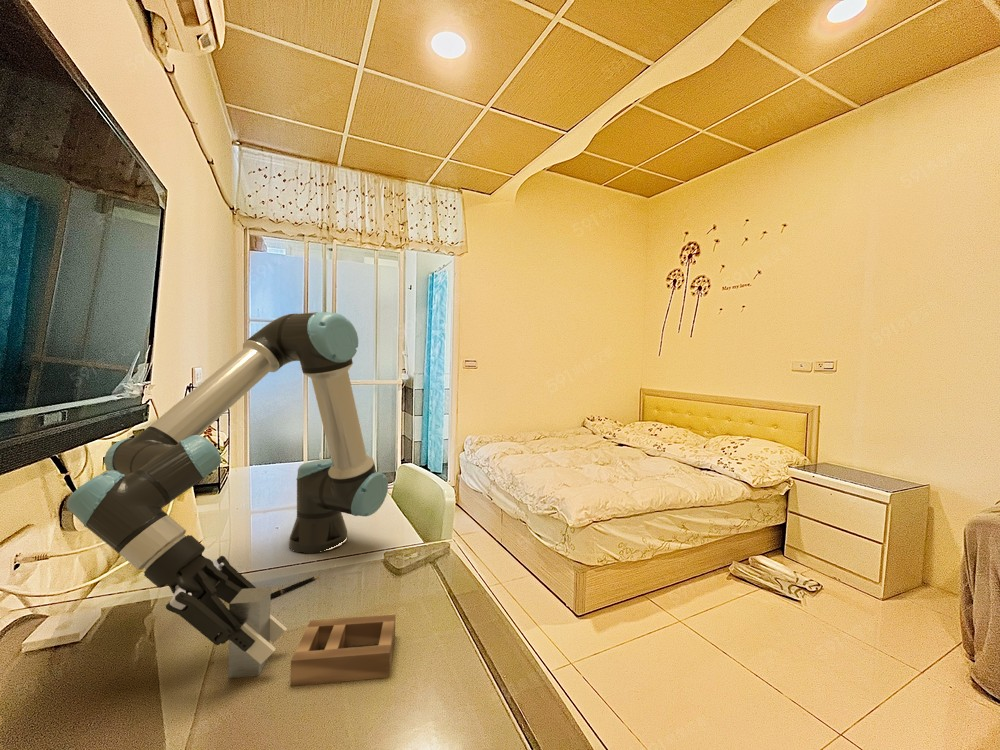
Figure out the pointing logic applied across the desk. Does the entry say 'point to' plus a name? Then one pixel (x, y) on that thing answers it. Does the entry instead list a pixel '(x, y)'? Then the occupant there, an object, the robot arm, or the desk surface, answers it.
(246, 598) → the grey tall rectangular block
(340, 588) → the desk surface
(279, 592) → the fountain pen
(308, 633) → the wooden slotted frame
